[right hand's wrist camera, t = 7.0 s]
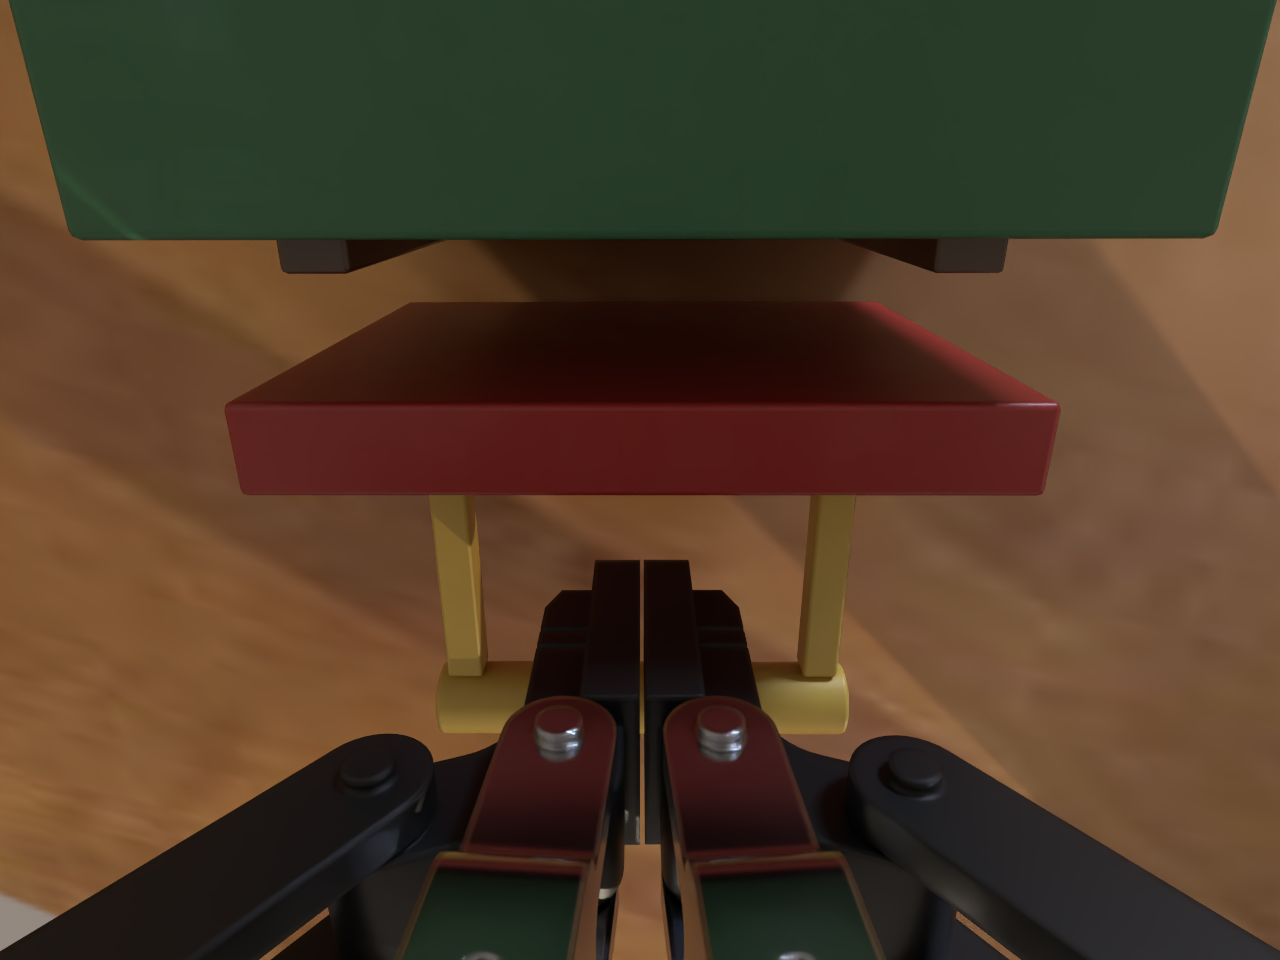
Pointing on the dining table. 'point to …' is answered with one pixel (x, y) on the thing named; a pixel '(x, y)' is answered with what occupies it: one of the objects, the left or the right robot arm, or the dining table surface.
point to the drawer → (643, 433)
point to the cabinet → (641, 117)
